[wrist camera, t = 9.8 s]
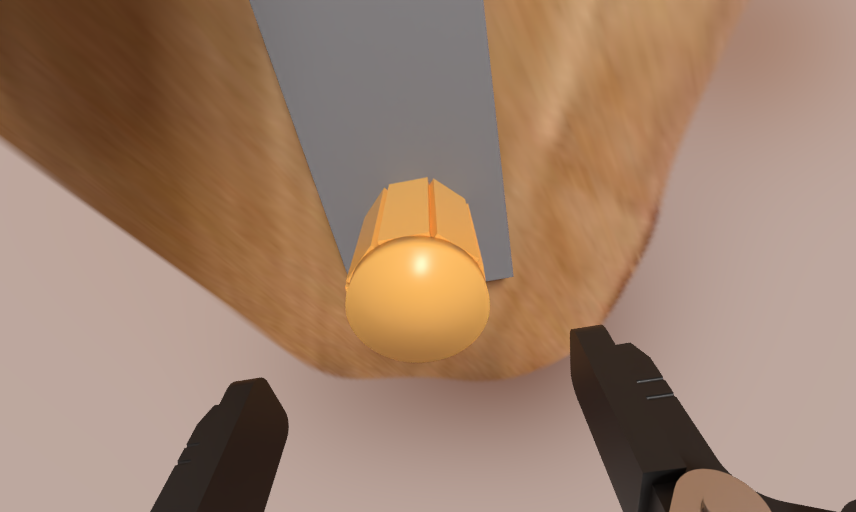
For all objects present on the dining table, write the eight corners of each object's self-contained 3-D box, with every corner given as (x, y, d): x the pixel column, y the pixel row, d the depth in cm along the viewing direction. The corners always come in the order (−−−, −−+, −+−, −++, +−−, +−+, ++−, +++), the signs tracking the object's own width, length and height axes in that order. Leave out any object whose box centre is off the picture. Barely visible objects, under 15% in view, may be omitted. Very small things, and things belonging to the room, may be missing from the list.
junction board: (257, -17, 15) (190, -32, 11) (469, -70, 14) (490, -109, 10) (361, 286, 22) (346, 351, 18) (508, 261, 21) (529, 322, 17)
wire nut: (354, 191, 18) (325, 262, 12) (463, 170, 17) (480, 235, 12) (381, 280, 20) (367, 371, 15) (477, 264, 20) (497, 352, 14)
